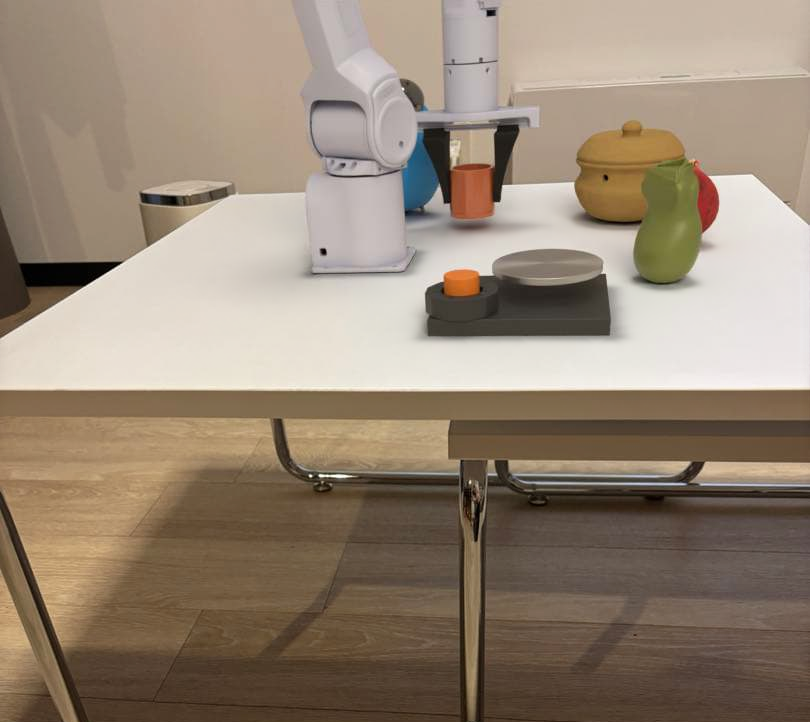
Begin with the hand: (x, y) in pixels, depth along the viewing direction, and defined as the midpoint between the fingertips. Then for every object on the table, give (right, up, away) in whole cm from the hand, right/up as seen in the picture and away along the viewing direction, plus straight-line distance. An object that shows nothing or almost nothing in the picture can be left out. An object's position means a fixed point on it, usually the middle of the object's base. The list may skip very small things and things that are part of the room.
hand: (472, 201), depth 93 cm
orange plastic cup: (0, -1, +1) cm, 1 cm away
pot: (+18, -2, +1) cm, 18 cm away
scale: (+2, -19, -24) cm, 31 cm away
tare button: (-3, -19, -28) cm, 34 cm away
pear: (+15, -15, -20) cm, 29 cm away
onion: (+20, -9, -10) cm, 24 cm away
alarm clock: (-9, +3, +11) cm, 15 cm away
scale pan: (+4, -16, -25) cm, 30 cm away
